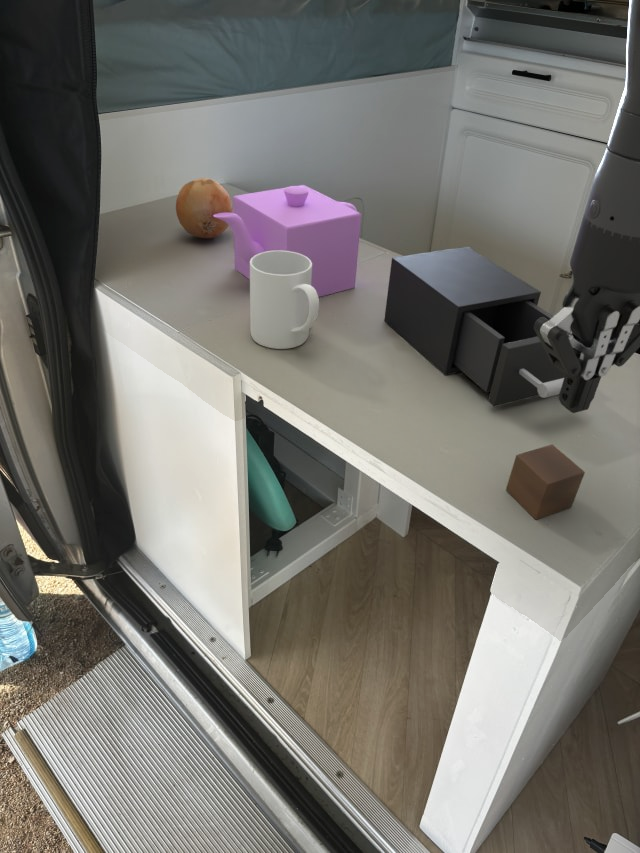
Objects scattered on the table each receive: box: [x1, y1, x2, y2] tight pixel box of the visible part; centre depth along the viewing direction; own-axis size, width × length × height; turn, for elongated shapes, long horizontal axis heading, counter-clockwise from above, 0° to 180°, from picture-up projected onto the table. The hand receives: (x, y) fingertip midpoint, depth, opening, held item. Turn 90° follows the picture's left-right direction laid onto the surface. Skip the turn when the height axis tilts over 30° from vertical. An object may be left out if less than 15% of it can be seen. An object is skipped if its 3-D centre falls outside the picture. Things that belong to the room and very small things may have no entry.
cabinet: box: [383, 246, 542, 376], centre depth 88 cm, size 16×13×10 cm
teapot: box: [213, 184, 362, 298], centre depth 99 cm, size 15×25×14 cm, turn 125°
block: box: [505, 444, 586, 520], centre depth 64 cm, size 5×5×5 cm
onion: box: [175, 177, 233, 239], centre depth 113 cm, size 10×10×10 cm
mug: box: [249, 250, 320, 350], centre depth 84 cm, size 12×8×10 cm, turn 33°
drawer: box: [452, 300, 566, 407], centre depth 79 cm, size 20×11×8 cm, turn 25°
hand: (573, 406), depth 59 cm, fingers closed
